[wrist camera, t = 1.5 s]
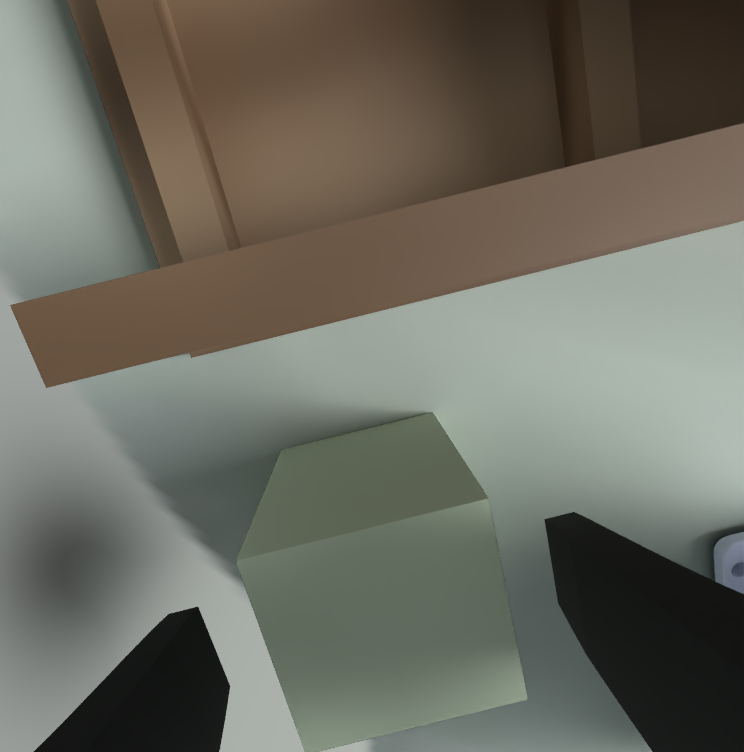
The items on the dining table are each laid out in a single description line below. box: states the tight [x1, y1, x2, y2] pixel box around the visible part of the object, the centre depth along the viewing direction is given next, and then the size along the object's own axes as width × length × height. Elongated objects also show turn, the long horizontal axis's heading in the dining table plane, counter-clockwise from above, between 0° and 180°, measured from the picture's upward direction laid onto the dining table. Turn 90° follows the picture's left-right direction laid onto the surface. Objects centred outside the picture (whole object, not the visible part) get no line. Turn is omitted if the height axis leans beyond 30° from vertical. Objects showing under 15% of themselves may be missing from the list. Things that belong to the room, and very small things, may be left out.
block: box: [236, 412, 528, 752], centre depth 10 cm, size 4×4×5 cm
